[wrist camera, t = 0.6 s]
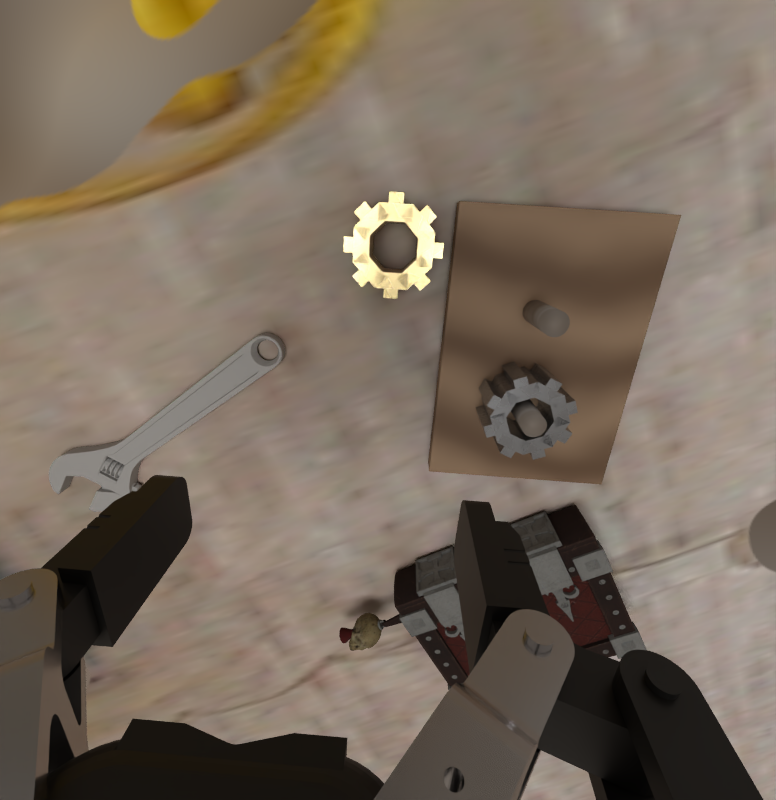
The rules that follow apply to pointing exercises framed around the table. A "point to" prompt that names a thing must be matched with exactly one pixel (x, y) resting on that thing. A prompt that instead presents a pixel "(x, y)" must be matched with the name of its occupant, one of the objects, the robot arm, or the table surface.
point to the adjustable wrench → (160, 427)
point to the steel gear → (519, 388)
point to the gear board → (579, 358)
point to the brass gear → (364, 245)
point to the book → (557, 579)
